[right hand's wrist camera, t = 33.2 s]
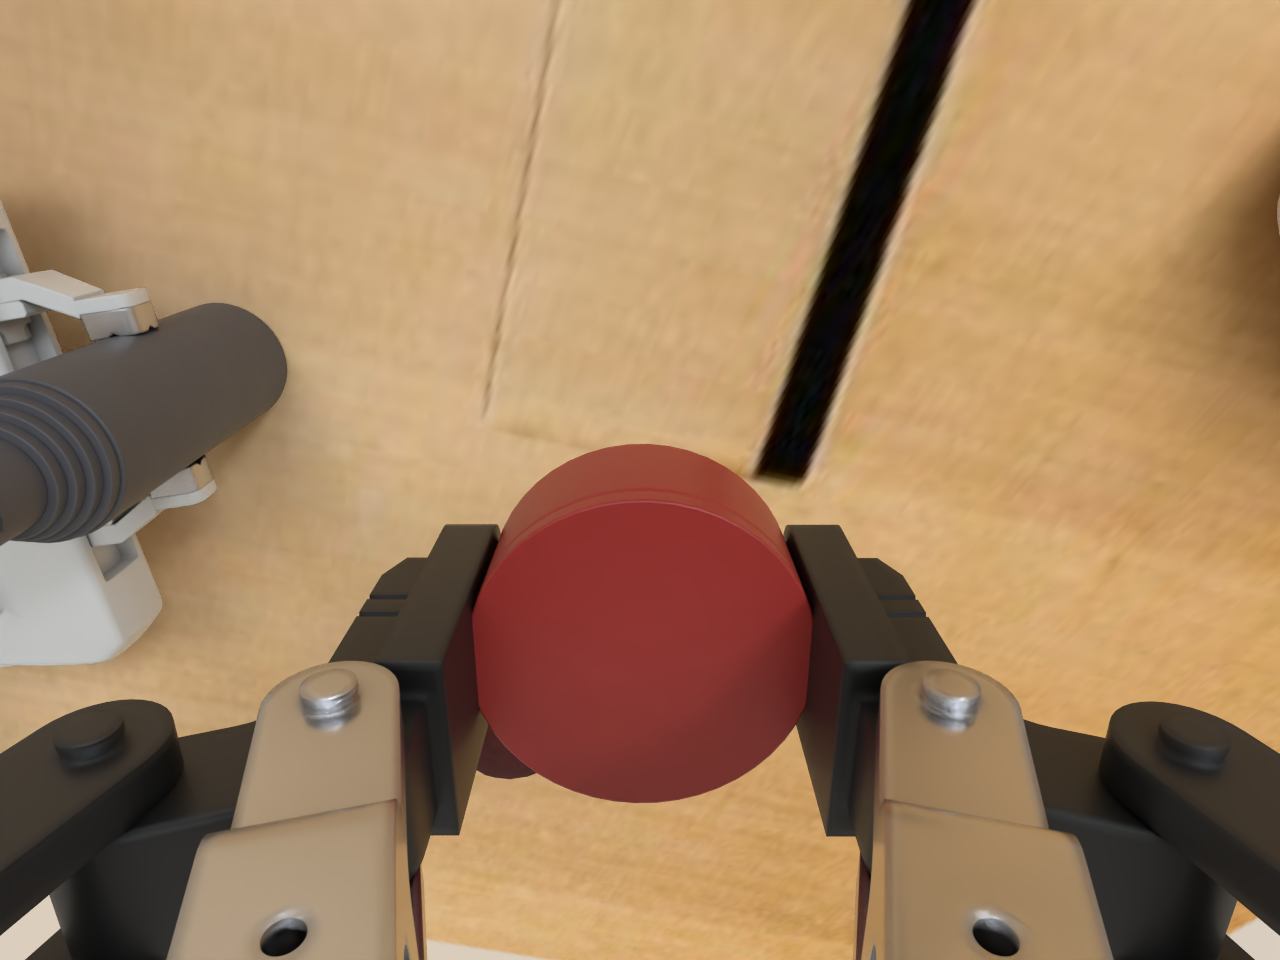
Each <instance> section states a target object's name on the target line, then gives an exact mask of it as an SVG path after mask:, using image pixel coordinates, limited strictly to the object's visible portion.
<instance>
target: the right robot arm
mask: <svg viewBox="0 0 1280 960" xmlns="http://www.w3.org/2000/svg"><path fill="white" fill-rule="evenodd" d="M500 536H501V533H500V529H499V526H498V525H497V524H446V525H445V526H444V528H443V529H442V531H441V533H440V535H439V537H438V539H437V541H436V543H435V545H434V547H433V549H432V550H431V552H430V554H429V556H428V558H406V559H405V560H403V561H402V562H400V563H399V564H397V565H396V566H395V567H393V568H392V569H390V570H389V571H387V572H386V573H384V574H383V575H382V576H381V578H380V579H379V581H378V582H377V584H376V586H375V587H374V589H373V591H372V592H371V594H370V599H367V600H366V602H365V604H364V605H363V607H362V609H361V610H360V612H359V616H357V617H356V619H355V620H354V622H353V623H352V625H351V627H350V628H349V630H348V632H347V633H346V635H345V637H344V638H343V640H342V641H341V643H340V645H339V646H338V648H337V650H336V651H335V653H334V655H333V656H332V658H331V659H330V661H329V663H326V664H322V665H318V666H315V667H311V668H309V669H306V670H303V671H301V672H298V673H296V674H294V675H292V676H290V677H289V678H287V679H285V680H284V681H282V682H281V683H279V684H278V685H277V686H275V687H274V688H273V689H272V690H271V691H270V692H269V693H268V694H267V695H266V697H265V698H264V700H263V701H262V703H261V706H260V708H259V712H258V716H257V721H254V722H250V723H247V724H243V725H239V726H235V727H230V728H225V729H220V730H215V731H210V732H205V733H200V734H195V735H190V736H185V737H180V738H178V736H177V732H176V728H175V724H174V720H173V717H172V714H171V712H170V711H169V710H168V709H167V708H166V707H164V706H162V705H161V704H158V703H155V702H152V701H146V700H132V699H131V700H118V701H111V702H105V703H101V704H97V705H93V706H89V707H86V708H83V709H80V710H77V711H74V712H72V713H69V714H67V715H64V716H62V717H60V718H58V719H56V720H54V721H52V722H50V723H49V724H47V725H45V726H43V727H42V728H40V729H38V730H37V731H35V732H34V733H32V734H31V735H29V736H27V737H26V738H24V739H23V740H21V741H20V742H18V743H17V744H15V745H13V746H12V747H10V748H9V749H7V750H6V751H4V752H3V753H1V754H0V935H2V934H3V933H4V932H5V931H6V930H7V929H9V928H10V927H11V926H12V925H13V924H15V923H16V922H17V921H18V920H19V919H21V918H22V917H23V916H24V915H25V914H27V913H28V912H29V911H30V910H31V909H33V908H34V907H35V906H36V905H37V904H39V903H40V902H41V901H42V900H43V899H45V898H46V897H47V896H48V895H50V898H51V901H52V904H53V907H54V910H55V913H56V916H57V918H58V921H59V924H60V927H61V929H59V930H58V931H57V932H56V933H55V934H54V935H53V936H52V937H50V938H49V939H48V940H47V941H46V942H45V943H44V944H42V945H41V946H40V947H39V948H38V949H37V950H36V951H35V952H33V953H32V954H31V955H30V956H29V957H28V958H27V959H26V960H427V945H426V923H425V900H424V882H423V874H422V866H421V863H422V860H423V858H424V855H425V851H426V848H427V845H428V841H429V838H430V835H459V834H460V830H461V826H462V822H463V819H464V815H465V811H466V807H467V803H468V800H469V796H470V792H471V788H472V785H473V781H474V777H475V773H476V769H477V766H478V762H479V758H480V754H481V750H482V747H483V743H484V739H485V735H486V732H487V728H488V723H487V721H486V720H485V718H484V716H483V715H482V713H481V711H480V708H479V699H478V687H477V674H476V662H475V649H474V637H473V624H472V611H473V608H474V605H475V602H476V600H477V597H478V594H479V591H480V589H481V586H482V584H483V581H484V578H485V576H486V573H487V570H488V568H489V565H490V562H491V560H492V557H493V554H494V552H495V549H496V547H497V544H498V541H499V539H500ZM783 537H784V540H785V542H786V545H787V547H788V550H789V552H790V555H791V558H792V560H793V563H794V565H795V568H796V570H797V573H798V576H799V578H800V581H801V583H802V586H803V588H804V591H805V594H806V596H807V599H808V601H809V604H810V606H811V610H812V613H813V623H812V636H811V648H810V660H809V672H808V684H807V696H806V706H805V709H804V711H803V712H802V714H801V716H800V718H799V720H798V722H797V724H796V726H797V730H798V733H799V737H800V741H801V744H802V748H803V752H804V755H805V759H806V763H807V766H808V770H809V774H810V777H811V781H812V785H813V788H814V792H815V796H816V800H817V803H818V807H819V811H820V814H821V818H822V822H823V825H824V829H825V833H826V836H856V839H857V842H858V846H859V849H860V858H859V866H858V874H857V882H856V900H855V922H854V945H853V960H1254V959H1253V958H1252V957H1251V956H1250V955H1249V954H1248V953H1247V952H1245V951H1244V950H1243V949H1242V948H1241V947H1240V946H1239V945H1238V944H1236V943H1235V942H1234V941H1233V940H1232V939H1231V938H1230V937H1229V936H1227V935H1226V931H1227V928H1228V926H1229V923H1230V920H1231V917H1232V914H1233V911H1234V908H1235V906H1236V903H1237V900H1238V901H1239V902H1240V903H1241V904H1243V905H1244V906H1245V907H1246V908H1247V909H1249V910H1250V911H1251V912H1252V913H1253V914H1255V915H1256V916H1257V917H1258V918H1259V919H1261V920H1262V921H1263V922H1264V923H1265V924H1267V925H1268V926H1269V927H1270V928H1271V929H1273V930H1274V931H1275V932H1276V933H1277V934H1278V935H1280V754H1279V753H1277V752H1276V751H1274V750H1273V749H1271V748H1270V747H1268V746H1267V745H1265V744H1263V743H1262V742H1260V741H1259V740H1257V739H1256V738H1254V737H1253V736H1251V735H1249V734H1248V733H1246V732H1245V731H1243V730H1241V729H1240V728H1238V727H1236V726H1235V725H1233V724H1231V723H1229V722H1227V721H1225V720H1223V719H1221V718H1219V717H1216V716H1213V715H1211V714H1208V713H1206V712H1203V711H1200V710H1197V709H1193V708H1190V707H1186V706H1182V705H1177V704H1171V703H1165V702H1138V703H1132V704H1128V705H1125V706H1123V707H1121V708H1119V709H1118V710H1116V711H1115V712H1114V714H1113V715H1112V717H1111V719H1110V723H1109V727H1108V731H1107V735H1106V738H1102V737H1097V736H1092V735H1087V734H1082V733H1077V732H1072V731H1067V730H1062V729H1057V728H1052V727H1048V726H1044V725H1040V724H1036V723H1033V722H1030V721H1027V720H1024V719H1023V716H1022V712H1021V708H1020V706H1019V703H1018V701H1017V700H1016V698H1015V697H1014V695H1013V694H1012V693H1011V692H1010V691H1009V690H1008V689H1007V688H1006V687H1005V686H1003V685H1002V684H1001V683H999V682H998V681H996V680H995V679H993V678H991V677H990V676H988V675H986V674H984V673H982V672H979V671H977V670H974V669H971V668H969V667H965V666H962V665H958V664H957V662H956V661H955V659H954V657H953V656H952V654H951V652H950V651H949V649H948V648H947V646H946V644H945V643H944V641H943V640H942V638H941V636H940V635H939V633H938V632H937V630H936V628H935V627H934V625H933V623H932V622H931V620H930V619H929V617H926V612H925V611H924V609H923V607H922V606H921V604H920V603H919V601H918V600H916V599H915V594H914V593H913V591H912V590H911V588H910V586H909V585H908V583H907V582H906V580H905V578H904V577H903V575H901V574H900V573H898V572H897V571H895V570H894V569H892V568H891V567H889V566H888V565H886V564H885V563H883V562H882V561H881V560H879V559H878V558H857V557H856V555H855V553H854V551H853V549H852V548H851V546H850V544H849V542H848V540H847V538H846V536H845V534H844V533H843V531H842V529H841V527H840V526H839V525H787V526H786V528H785V531H784V535H783Z"/></svg>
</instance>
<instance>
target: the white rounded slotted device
mask: <svg viewBox="0 0 1280 960" xmlns="http://www.w3.org/2000/svg"><path fill="white" fill-rule="evenodd" d="M1277 220H1278V227H1279V234H1280V196H1279V200H1278V206H1277Z"/></svg>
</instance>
